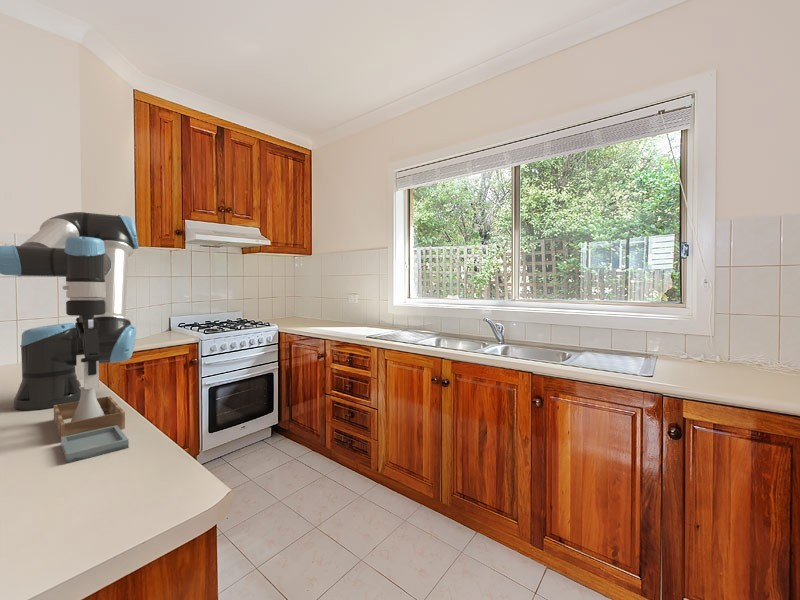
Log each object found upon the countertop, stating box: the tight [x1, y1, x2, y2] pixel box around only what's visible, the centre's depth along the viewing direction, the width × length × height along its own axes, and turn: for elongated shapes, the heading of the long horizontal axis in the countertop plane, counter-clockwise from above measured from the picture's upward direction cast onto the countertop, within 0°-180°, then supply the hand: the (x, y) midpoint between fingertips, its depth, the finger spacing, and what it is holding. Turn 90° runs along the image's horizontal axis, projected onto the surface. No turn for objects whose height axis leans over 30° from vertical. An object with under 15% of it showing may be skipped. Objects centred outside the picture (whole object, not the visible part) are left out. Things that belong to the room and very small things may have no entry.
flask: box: [70, 384, 106, 422], centre depth 93 cm, size 7×7×10 cm
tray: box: [60, 425, 129, 464], centre depth 81 cm, size 12×10×2 cm
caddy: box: [53, 395, 126, 440], centre depth 93 cm, size 19×12×4 cm, turn 47°
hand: (87, 383), depth 93 cm, fingers open, 13 cm apart
